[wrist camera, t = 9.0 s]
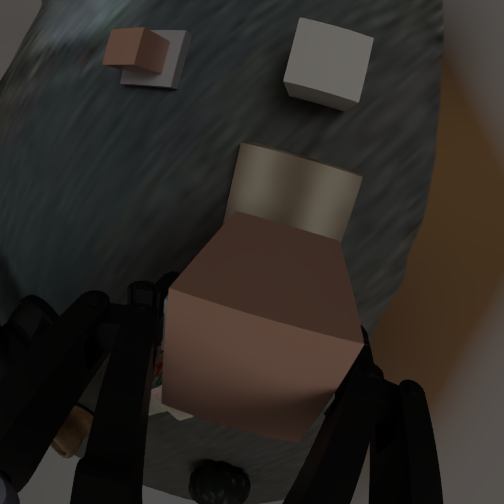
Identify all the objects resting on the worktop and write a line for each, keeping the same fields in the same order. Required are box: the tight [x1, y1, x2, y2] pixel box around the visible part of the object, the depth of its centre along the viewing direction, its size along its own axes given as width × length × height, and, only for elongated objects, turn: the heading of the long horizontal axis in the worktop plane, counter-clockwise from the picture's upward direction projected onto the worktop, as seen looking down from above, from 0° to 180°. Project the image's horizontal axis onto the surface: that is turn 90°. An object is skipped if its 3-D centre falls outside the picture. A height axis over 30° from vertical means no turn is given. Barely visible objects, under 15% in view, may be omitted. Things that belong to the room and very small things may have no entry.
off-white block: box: [283, 18, 374, 111], centre depth 23 cm, size 6×6×9 cm
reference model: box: [102, 27, 192, 89], centre depth 25 cm, size 7×7×8 cm
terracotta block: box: [161, 211, 364, 443], centre depth 14 cm, size 6×6×9 cm
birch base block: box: [223, 142, 363, 244], centre depth 31 cm, size 12×12×4 cm
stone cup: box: [50, 404, 93, 458], centre depth 56 cm, size 15×12×15 cm
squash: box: [189, 462, 250, 504], centre depth 53 cm, size 14×15×15 cm
